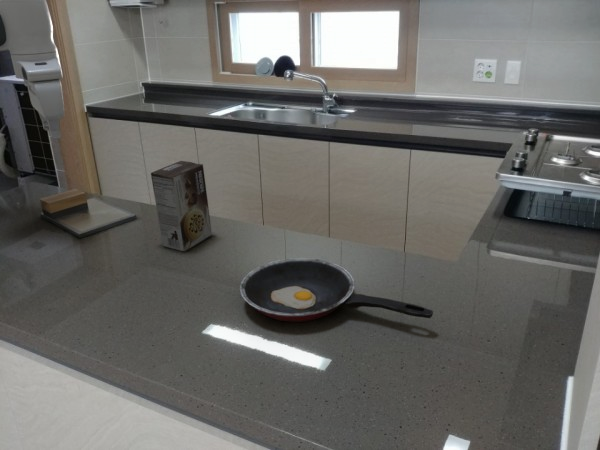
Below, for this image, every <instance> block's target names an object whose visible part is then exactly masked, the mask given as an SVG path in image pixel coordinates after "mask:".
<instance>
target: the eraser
mask: <svg viewBox="0 0 600 450" xmlns="http://www.w3.org/2000/svg"><path fill="white" fill-rule="evenodd" d="M87 199H88V198H87V195H86V192H85V191H83V190H80V189H78V188H74V189H70V190H66V191H63V192H58V193H56V194H52V195H51V194H50V195H48V196H45V197H40V198H39V203H40V206H41V211H42V213H43V214H44V215H45V216H47V217H49V218H51V219H55V218H58V217H61V216H64V215H68V214H71V213H74V212H77V211H81V210H84V209H87V208H88V203H87Z"/></svg>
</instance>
